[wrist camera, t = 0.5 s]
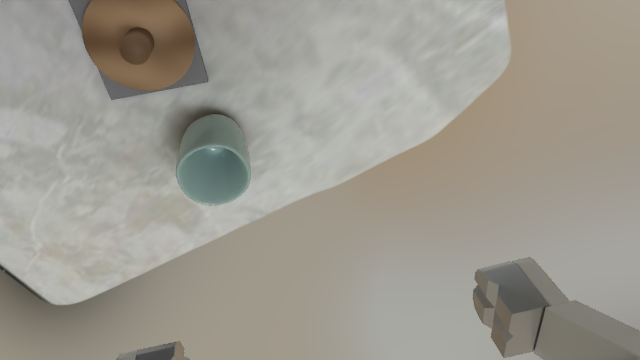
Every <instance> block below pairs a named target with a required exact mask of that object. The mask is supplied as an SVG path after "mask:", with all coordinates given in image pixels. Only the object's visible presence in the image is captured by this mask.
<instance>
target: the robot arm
mask: <svg viewBox="0 0 640 360" xmlns="http://www.w3.org/2000/svg"><path fill="white" fill-rule="evenodd" d="M475 281H476V282H477V284H478V285H477V287H476V288H475V289H474V290H473V301H474V306H475V309H476V312H477V314H478V316H479V318H480V320H481V321H482V323H483V324H485V325H487V326H488V327H490V328H492V333H491V338H492V340H493V341H494V343H495V344H496V346H497V348H498V349H499V351H500V353H501V354H502V356H503V358H506V357H511V356H515V355H520V354H524V353H529V352H533V351H534V353H535V354H536V355H538V356H539V357H541V358H542V359H543V360H640V331H639V330H637V329H635V328H633V327H631V326H629V325H626V324H624V323H622V322H620V321H618V320H616V319H614V318H611V317H610V316H608V315H605V314H603V313H601V312H599V311H597V310H595V309H593V308H590V307H589V306H587V305H584V304H582V303H580V302H578V301H576V300H574V301H569V300H568V298H567V297H566V296H565V295H564V294H563V293H562V291H561V290H560V289H559V288H558V287H557V286H556V284H555V283H554V282H553V281H552V280H551V279H550V278H549V276H548V275H547V274H546V273H545V272H544V270H543V269H542V268H541V267H540V266H539V265H538V264H537V263H536V261H535V260H534V259H532V258H531V257H528V258H523V259H519V260H515V261H512V262H510V261H509V262H505V263H501V264H497V265H493V266H489V267H485V268H481V269H478V270H477V271H476V272H475ZM116 360H190V359H189V358H186V357H184V347H183V346H182V344H181V342H180V341H178V342H173V343H168V344H163V345H159V346H154V347H149V348H144V349H140V350H135V351H131V352H127V353H123V354H119V356H118V357H117V359H116Z"/></svg>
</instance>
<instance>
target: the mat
mask: <svg viewBox="0 0 640 360" xmlns="http://www.w3.org/2000/svg"><path fill="white" fill-rule="evenodd" d="M91 1H92V0H69V2H70V4H71V7H72V9H73V11H74V14H75V16H76V18H77V21H78V23H79V25H80V28H81V30H82V23H83V18H84V14H85V12H86V9H87V7H88V6H89V4H90V2H91ZM175 1H176V2H177V3H178V4H179V5H180V6H181V7H182V9H183V10H184V11H185V13H186V14H187V16H188V18H189V20H190V22H191V24H192V21H191V17H190V14H189V10H188V7H187V3H186V0H175ZM192 27H193V24H192ZM193 30H194V28H193ZM194 35H195V31H194ZM98 70H99V72H100V74H101V77H102V79H103V81H104V84H105V86H106V88H107V91H108V93H109V95H110V98H111V100H113V99H119V98H124V97H130V96H135V95H140V94H146V93H151V92H156V91H162V90H167V89H172V88H178V87H183V86H188V85H194V84H199V83H205V82H208V77H207V73H206V70H205V66H204V63H203V59H202V56H201V52H200V49H199V45H198V42H197V38H196V35H195V52H194V57H193V60H192V63H191V65H190V67H189V69H188V71H187V72H186V74H185V75H184V76H183V77H182V78H181V79H180V80H179V81H177V82H176V83H174V84H173V85H171V86H169V87H166V88H163V89H159V90H152V91H143V90H136V89H131V88H128V87H125V86H123V85H121V84H119V83H117V82H115V81H113V80H112V79H110V78H109V77H108V76H106V75H105V74H104V73H103V72H102V71H101V70H100V69H99V68H98Z"/></svg>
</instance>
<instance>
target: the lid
mask: <svg viewBox="0 0 640 360" xmlns="http://www.w3.org/2000/svg"><path fill="white" fill-rule="evenodd" d="M82 34H83V40H84V44H85V47H86V50H87V52H88V54H89V56H90V58H91V59H92V61H93V62H94V63H95V65H96V66H97V67H98V68H99V69H100V70H101V71H102V72H103V73H104V74H105V75H106V76H108V77H109V78H110V79H112V80H113V81H115V82H117V83H119V84H121V85H123V86H125V87H128V88H131V89H136V90H143V91H152V90H159V89H163V88H166V87H169V86H171V85H173V84H174V83H176V82H177V81H179V80H180V79H181V78H182V77H183V76H184V75H185V74H186V72H187V71H188V69H189V67H190V65H191V63H192V60H193V57H194V52H195V35H194V30H193V27H192V24H191V22H190V20H189V18H188V16H187V14H186V13H185V11H184V10H183V9H182V7H181V6H180V5H179V4H178V3H177V2H176V1H175V0H92V1H91V2H90V4H89V6H88V7H87V9H86V12H85V14H84V18H83V23H82Z"/></svg>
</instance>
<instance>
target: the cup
mask: <svg viewBox="0 0 640 360" xmlns="http://www.w3.org/2000/svg"><path fill="white" fill-rule="evenodd" d="M176 177H177V180H178V183H179V185H180V187H181V189H182V190H183V192H184V193H185V194H186V195H187V196H188V197H189V198H191V199H192V200H194V201H196V202H198V203H200V204H204V205H220V204H225V203H228V202H230V201H233V200H235V199H236V198H238V197H239V196H241V195H242V194H243V193H244V192H245V191H246V189H247V188H248V186H249V183H250V179H251V167H250V157H249V151H248V146H247V142H246V139H245V137H244V134H243V132H242V130H241V129H240V127H239V126H238V125H237V124H236V122H234V121H233V120H232V119H231V118H229V117H227V116H225V115H221V114H210V115H206V116H203V117H201V118H198V119H197V120H195V121H194V122H193V123H191V125H190V126H189V127H188V128H187V129H186V131H185V133H184V135H183V137H182V140H181V143H180V147H179V152H178V157H177V163H176Z"/></svg>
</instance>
